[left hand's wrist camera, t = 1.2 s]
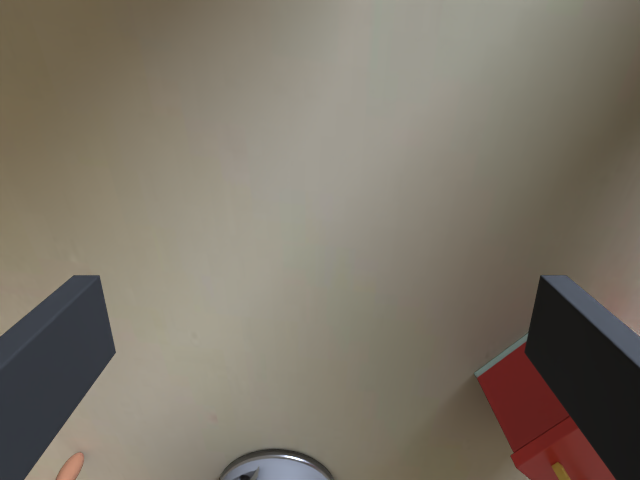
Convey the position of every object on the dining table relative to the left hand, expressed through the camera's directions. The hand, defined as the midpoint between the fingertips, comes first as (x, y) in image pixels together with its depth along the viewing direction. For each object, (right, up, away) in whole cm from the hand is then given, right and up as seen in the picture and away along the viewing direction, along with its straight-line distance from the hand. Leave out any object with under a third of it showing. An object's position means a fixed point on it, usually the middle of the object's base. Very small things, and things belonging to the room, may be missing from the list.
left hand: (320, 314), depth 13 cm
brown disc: (-29, -24, +39) cm, 54 cm away
